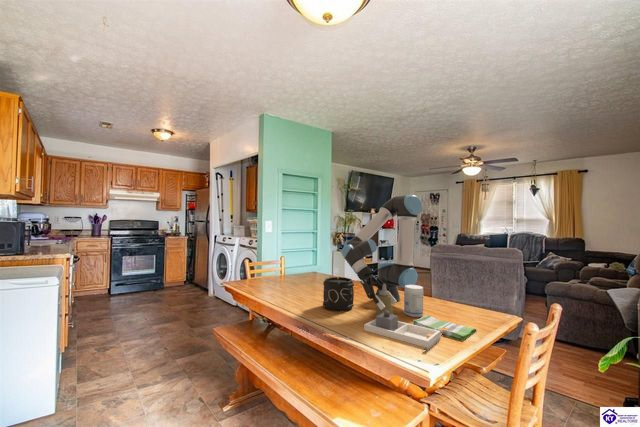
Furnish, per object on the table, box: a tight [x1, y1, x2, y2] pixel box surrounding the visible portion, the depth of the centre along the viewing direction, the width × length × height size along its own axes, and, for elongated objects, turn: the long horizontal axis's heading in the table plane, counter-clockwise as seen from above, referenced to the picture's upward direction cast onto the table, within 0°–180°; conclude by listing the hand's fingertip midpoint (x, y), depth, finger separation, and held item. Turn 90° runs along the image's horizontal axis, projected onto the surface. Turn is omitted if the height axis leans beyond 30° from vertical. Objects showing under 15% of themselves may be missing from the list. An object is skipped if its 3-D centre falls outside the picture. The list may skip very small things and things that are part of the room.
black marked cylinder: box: [322, 276, 355, 313], centre depth 169 cm, size 18×18×16 cm
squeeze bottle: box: [375, 284, 394, 316], centre depth 147 cm, size 8×8×18 cm
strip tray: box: [363, 318, 441, 351], centre depth 127 cm, size 14×28×4 cm, turn 50°
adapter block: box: [375, 311, 399, 331], centre depth 132 cm, size 7×7×8 cm
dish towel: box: [412, 315, 477, 342], centre depth 136 cm, size 17×23×4 cm
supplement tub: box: [403, 284, 424, 318], centre depth 157 cm, size 10×10×15 cm
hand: (389, 305), depth 145 cm, fingers open, 11 cm apart
